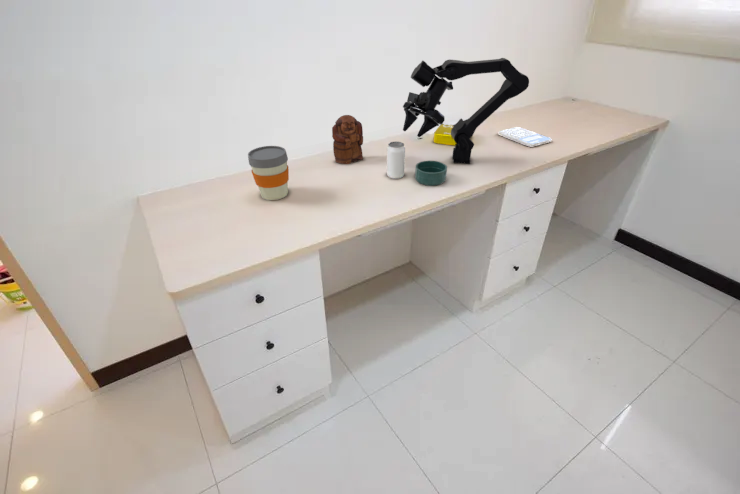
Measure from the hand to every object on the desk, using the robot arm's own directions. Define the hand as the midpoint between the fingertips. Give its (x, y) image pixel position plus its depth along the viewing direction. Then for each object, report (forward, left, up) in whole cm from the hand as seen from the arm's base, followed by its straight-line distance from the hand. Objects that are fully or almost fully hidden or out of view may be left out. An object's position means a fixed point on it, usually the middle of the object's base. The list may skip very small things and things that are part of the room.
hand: (410, 133), depth 137 cm
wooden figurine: (+25, -5, -14) cm, 29 cm away
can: (+5, +7, -14) cm, 16 cm away
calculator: (-49, -39, -14) cm, 64 cm away
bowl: (-8, +9, -14) cm, 18 cm away
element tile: (-17, -34, -14) cm, 41 cm away
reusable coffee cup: (+45, +27, -14) cm, 54 cm away
